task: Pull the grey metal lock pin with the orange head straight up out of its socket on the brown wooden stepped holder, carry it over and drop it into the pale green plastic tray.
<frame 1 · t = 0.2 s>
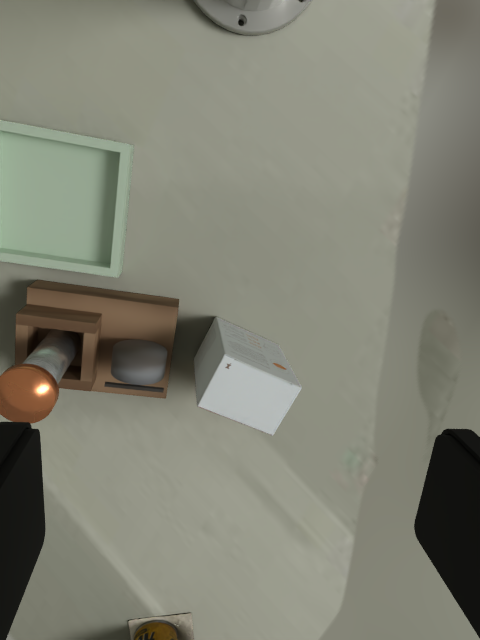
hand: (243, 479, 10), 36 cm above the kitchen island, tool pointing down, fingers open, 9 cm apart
brown wooden stepped holder: (105, 335, 47), on the kitchen island
small box: (236, 350, 49), on the kitchen island
lock pin: (63, 341, 43), point 3 cm above the kitchen island, touching brown wooden stepped holder
condiment: (162, 633, 61), on the kitchen island
tray: (62, 200, 42), on the kitchen island
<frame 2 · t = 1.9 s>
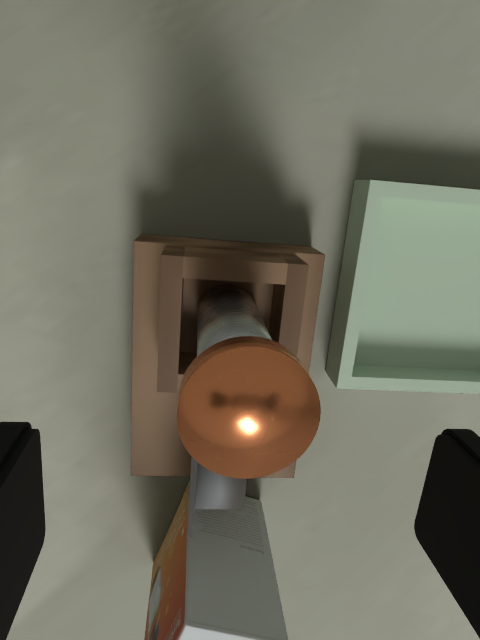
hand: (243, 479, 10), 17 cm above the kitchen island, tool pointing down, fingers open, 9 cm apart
brown wooden stepped holder: (219, 352, 28), on the kitchen island
small box: (205, 530, 32), on the kitchen island
lock pin: (226, 312, 24), point 3 cm above the kitchen island, touching brown wooden stepped holder
tray: (431, 287, 28), on the kitchen island
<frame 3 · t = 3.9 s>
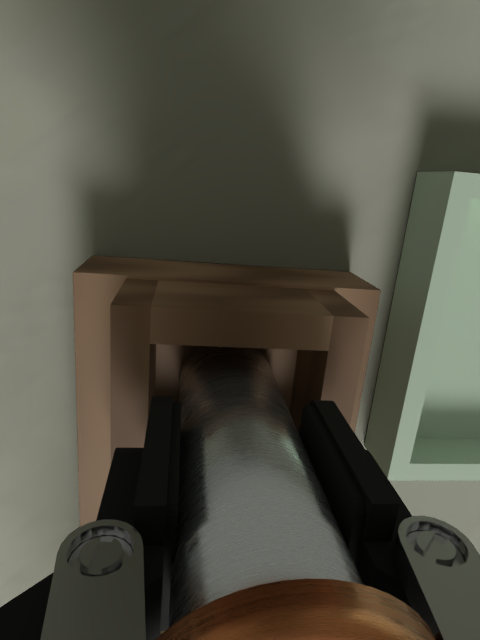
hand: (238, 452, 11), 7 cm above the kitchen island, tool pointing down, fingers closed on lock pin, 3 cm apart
brown wooden stepped holder: (214, 423, 19), on the kitchen island
lock pin: (225, 380, 15), point 3 cm above the kitchen island, touching gripper, brown wooden stepped holder
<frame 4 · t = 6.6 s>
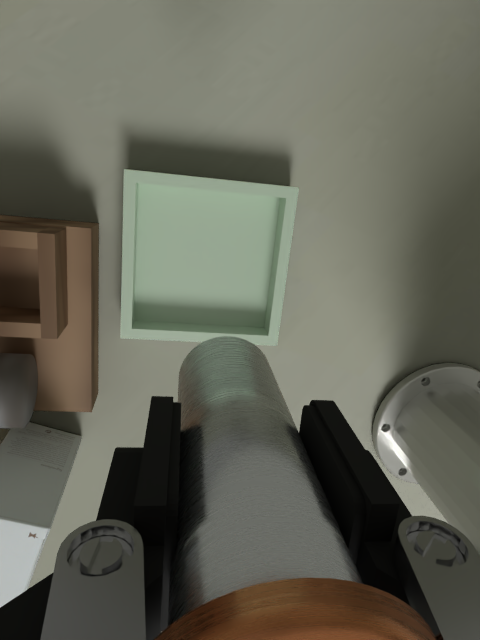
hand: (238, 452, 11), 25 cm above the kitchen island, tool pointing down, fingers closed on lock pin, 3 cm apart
brown wooden stepped holder: (30, 309, 34), on the kitchen island
small box: (38, 462, 39), on the kitchen island
lock pin: (225, 379, 15), point 21 cm above the kitchen island, touching gripper
tray: (205, 258, 35), on the kitchen island
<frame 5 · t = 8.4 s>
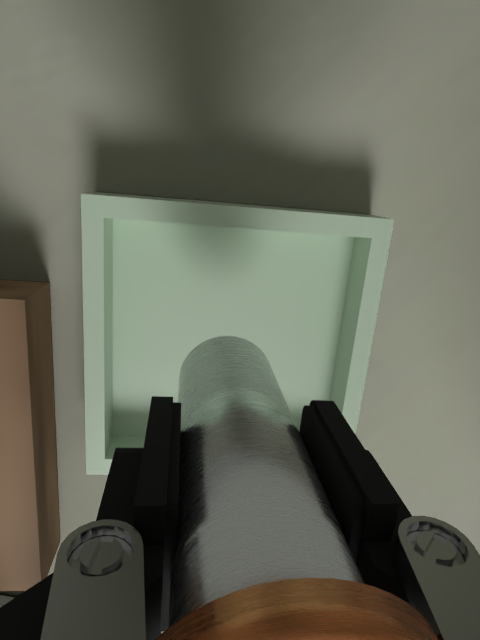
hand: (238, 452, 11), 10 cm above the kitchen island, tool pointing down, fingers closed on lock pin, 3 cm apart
lock pin: (225, 379, 15), point 6 cm above the kitchen island, touching gripper
tray: (227, 334, 21), on the kitchen island
when the fingers open (6 cm above the kitchen island, at t = 9.6 s): lock pin drops 1 cm, resting on tray.
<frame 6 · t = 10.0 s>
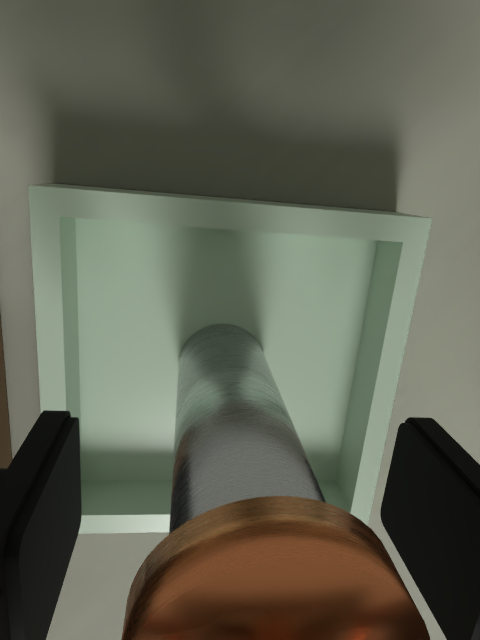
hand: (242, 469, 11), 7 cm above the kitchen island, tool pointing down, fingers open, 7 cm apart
lock pin: (221, 363, 17), point 1 cm above the kitchen island, touching tray
tray: (221, 357, 17), on the kitchen island
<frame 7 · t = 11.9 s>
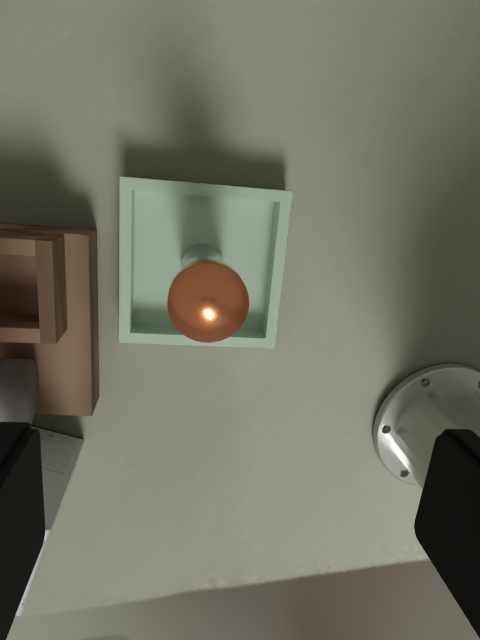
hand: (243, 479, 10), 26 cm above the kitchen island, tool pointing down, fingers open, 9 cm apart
brown wooden stepped holder: (31, 315, 35), on the kitchen island
small box: (42, 465, 39), on the kitchen island
lock pin: (201, 264, 34), point 1 cm above the kitchen island, touching tray
tray: (202, 262, 35), on the kitchen island
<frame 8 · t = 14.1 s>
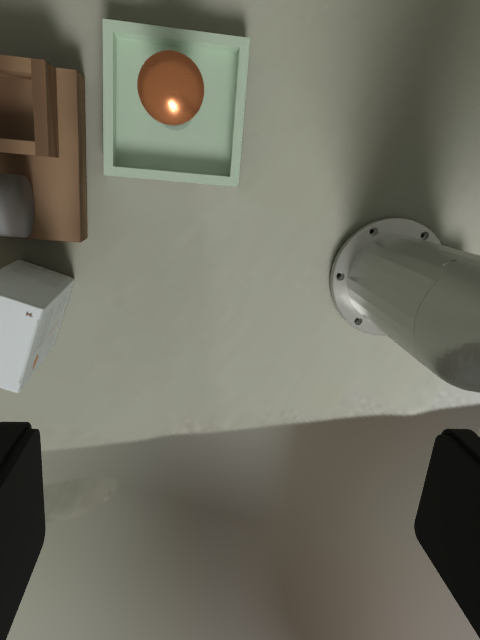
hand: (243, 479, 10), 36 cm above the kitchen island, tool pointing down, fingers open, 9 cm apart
brown wooden stepped holder: (29, 156, 40), on the kitchen island
small box: (37, 303, 45), on the kitchen island
lock pin: (175, 111, 40), point 1 cm above the kitchen island, touching tray
tray: (175, 112, 41), on the kitchen island
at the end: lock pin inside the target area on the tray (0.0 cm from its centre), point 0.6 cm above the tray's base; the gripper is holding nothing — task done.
